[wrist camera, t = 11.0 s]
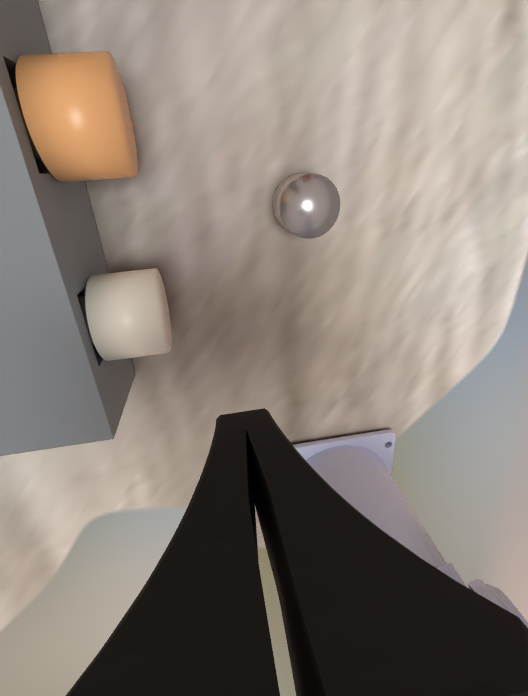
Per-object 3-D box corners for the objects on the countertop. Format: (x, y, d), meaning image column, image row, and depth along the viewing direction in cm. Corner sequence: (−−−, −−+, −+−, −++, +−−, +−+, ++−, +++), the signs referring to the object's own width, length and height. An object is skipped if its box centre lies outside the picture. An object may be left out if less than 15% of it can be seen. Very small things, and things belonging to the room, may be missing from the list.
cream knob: (173, 333, 18) (167, 368, 15) (-34, 358, 17) (-88, 402, 14) (159, 259, 16) (148, 281, 13) (-70, 283, 15) (-142, 312, 12)
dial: (325, 228, 18) (340, 234, 16) (274, 234, 18) (283, 241, 16) (324, 171, 17) (340, 170, 15) (270, 176, 17) (279, 177, 15)
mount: (135, 374, 20) (113, 438, 15) (30, 388, 20) (-28, 460, 15) (34, -12, 13) (-67, -122, 8) (-135, -7, 13) (-351, -123, 8)
